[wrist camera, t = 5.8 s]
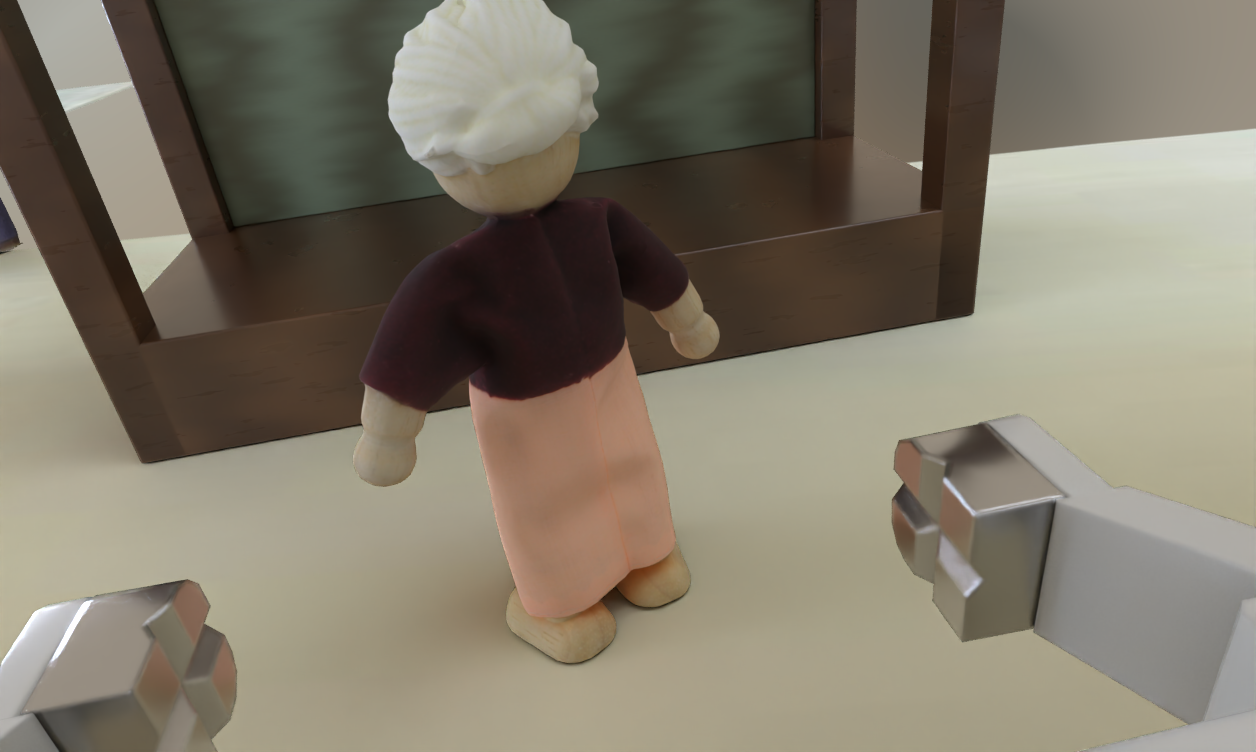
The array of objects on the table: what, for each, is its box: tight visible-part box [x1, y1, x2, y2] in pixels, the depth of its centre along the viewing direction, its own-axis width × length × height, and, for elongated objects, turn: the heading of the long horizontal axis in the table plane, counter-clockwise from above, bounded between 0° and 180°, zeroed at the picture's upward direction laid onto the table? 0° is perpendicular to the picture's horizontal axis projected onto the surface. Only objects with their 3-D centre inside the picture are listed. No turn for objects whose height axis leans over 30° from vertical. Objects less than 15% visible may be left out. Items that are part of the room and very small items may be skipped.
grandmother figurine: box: [353, 0, 719, 663], centre depth 16 cm, size 8×4×13 cm, turn 137°
